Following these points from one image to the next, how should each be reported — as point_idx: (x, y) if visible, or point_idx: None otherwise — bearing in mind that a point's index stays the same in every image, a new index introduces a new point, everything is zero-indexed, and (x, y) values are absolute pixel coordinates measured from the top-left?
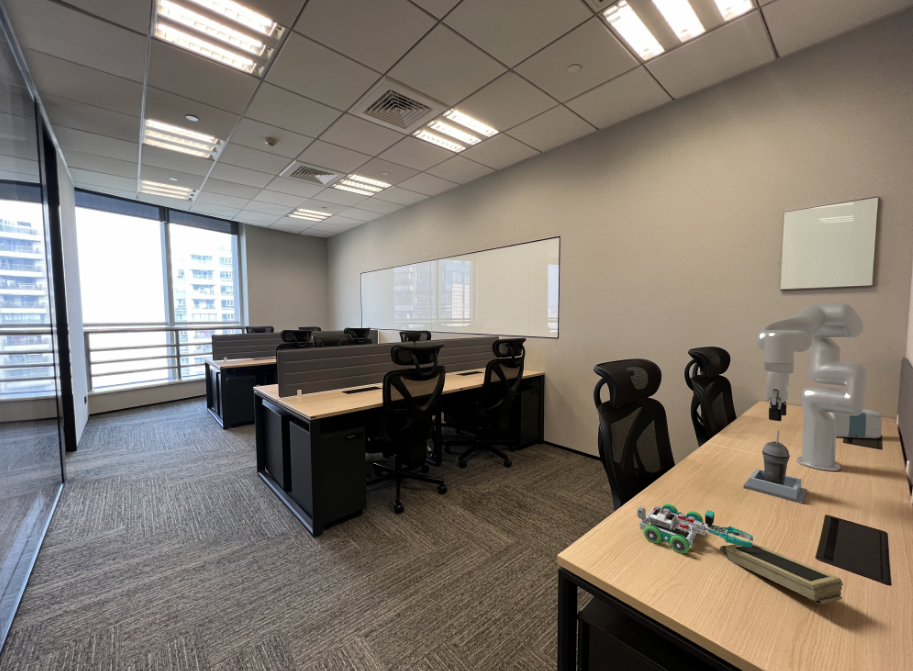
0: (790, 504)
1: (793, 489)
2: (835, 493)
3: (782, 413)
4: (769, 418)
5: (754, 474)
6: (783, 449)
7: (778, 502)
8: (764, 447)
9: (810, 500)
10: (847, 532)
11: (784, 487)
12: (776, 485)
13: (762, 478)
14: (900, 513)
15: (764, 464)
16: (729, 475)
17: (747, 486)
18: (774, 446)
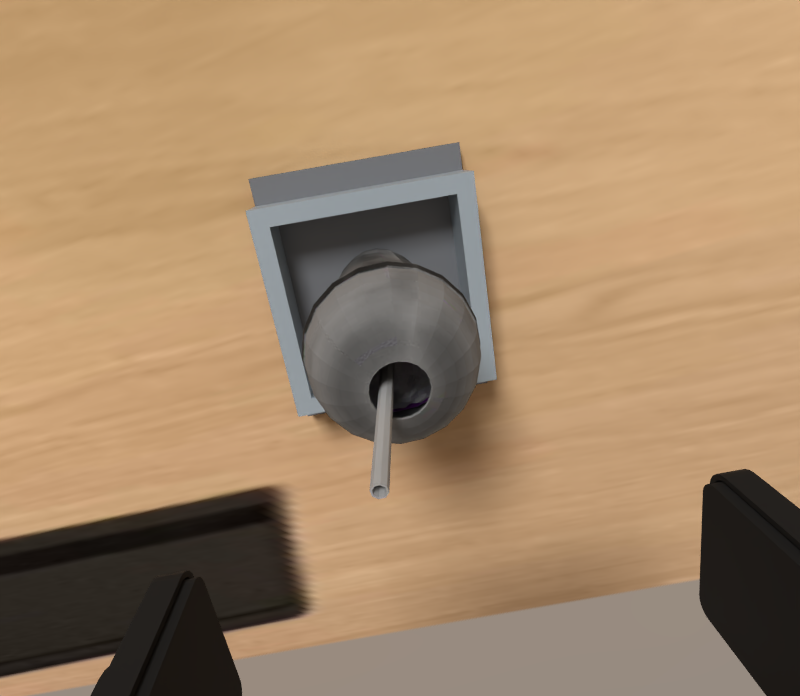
0: (251, 384)
1: (295, 404)
2: (571, 441)
3: (719, 599)
4: (155, 594)
5: (340, 205)
6: (359, 436)
7: (222, 349)
8: (342, 302)
9: None
10: (174, 563)
11: (288, 370)
12: (279, 338)
13: (450, 205)
14: (534, 598)
15: (351, 270)
16: (384, 36)
17: (254, 197)
18: (332, 391)
